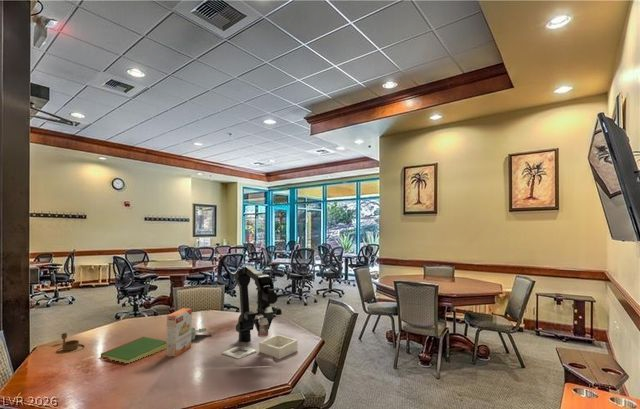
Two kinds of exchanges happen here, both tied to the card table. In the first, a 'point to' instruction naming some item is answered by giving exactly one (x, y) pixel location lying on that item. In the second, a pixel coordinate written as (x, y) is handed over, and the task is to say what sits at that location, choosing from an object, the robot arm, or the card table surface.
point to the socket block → (240, 347)
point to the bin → (278, 346)
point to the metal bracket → (198, 332)
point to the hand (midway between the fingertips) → (263, 330)
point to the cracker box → (178, 332)
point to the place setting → (70, 344)
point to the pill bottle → (263, 327)
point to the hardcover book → (135, 350)
